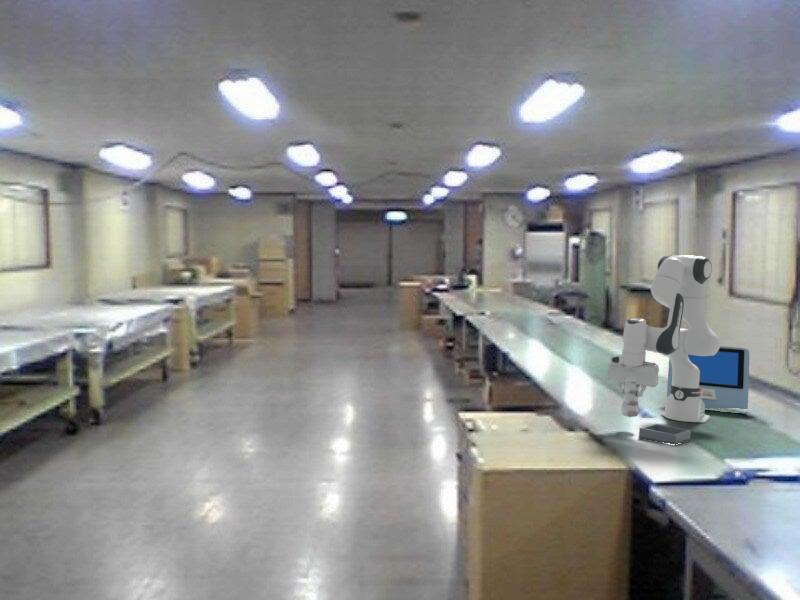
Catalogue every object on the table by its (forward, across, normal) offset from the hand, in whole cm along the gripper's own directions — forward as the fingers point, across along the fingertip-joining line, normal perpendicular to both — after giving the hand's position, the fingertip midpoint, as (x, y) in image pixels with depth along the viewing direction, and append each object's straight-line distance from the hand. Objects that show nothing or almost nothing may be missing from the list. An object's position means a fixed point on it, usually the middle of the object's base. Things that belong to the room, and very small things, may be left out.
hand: (631, 394), depth 310 cm
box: (+14, -16, +4) cm, 22 cm away
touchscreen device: (+16, +1, -83) cm, 84 cm away
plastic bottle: (+9, 0, 0) cm, 9 cm away
